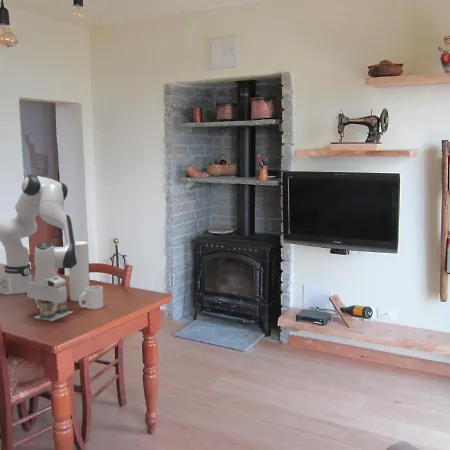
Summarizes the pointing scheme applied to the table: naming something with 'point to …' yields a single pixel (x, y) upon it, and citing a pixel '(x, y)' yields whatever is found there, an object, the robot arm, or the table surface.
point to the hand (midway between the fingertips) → (47, 309)
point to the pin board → (56, 316)
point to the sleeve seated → (62, 308)
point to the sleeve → (46, 310)
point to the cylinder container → (79, 272)
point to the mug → (92, 297)
